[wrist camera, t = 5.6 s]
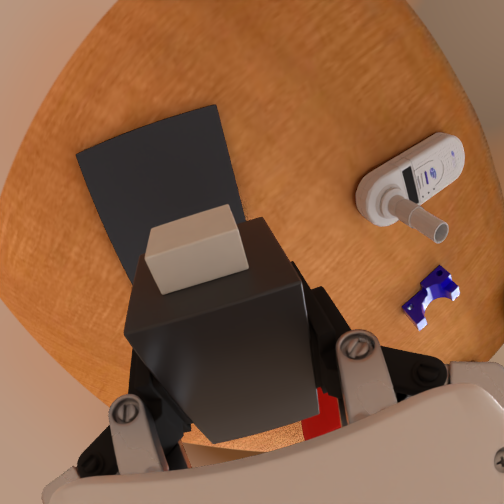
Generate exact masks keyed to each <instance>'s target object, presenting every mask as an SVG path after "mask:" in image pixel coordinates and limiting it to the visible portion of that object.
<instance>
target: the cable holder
mask: <svg viewBox="0 0 504 504" xmlns="http://www.w3.org/2000/svg"><path fill="white" fill-rule="evenodd" d="M420 284H421V287H422V289H421V290H420V291H419V292H418V293H417V294H416V295H415V296H413V297H412V298H411V299H410V300H409V301H408V302H406V303H405V304H404V305H403V306H402V309H403V311H404V313H405V314H406V316H407V317H408V318H409V319H410V320H411V322H412V323H413V324H414V325H415V326H416V328H417V329H418V330H419V331H420V330H421V329H422V328H424V327H425V326H426V325H427V321H426V319H425V317H424V313H425V309H426V307H427V306H428V304H429V303H430V302H431V301H433V300H434V299H436V298H440V297H446V298H449V299H451V300H452V301H453V300H454V299H455V298H456V297H457V296H458V295H459V294H460V292H459V286H458V285H456V284H455V283H454V282H453V281H452V278H451V274H450V273H449V272H447V271H446V270H445V269H444V268H443V267H442V266H440V265H439V266H438V267H437V268H436V269H435V270H434V271H433V272H432V273H431V274H429V275H428V276H427V277H426V278H425V279H424V280H423V281H422V282H421V283H420Z"/></svg>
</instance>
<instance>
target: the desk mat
mask: <svg viewBox="0 0 504 504" xmlns="http://www.w3.org/2000/svg"><path fill="white" fill-rule="evenodd" d="M76 157H77V160H78V163H79V166H80V168H81V171H82V174H83V176H84V179H85V182H86V184H87V187H88V189H89V192H90V194H91V197H92V199H93V202H94V204H95V207H96V209H97V211H98V214H99V216H100V218H101V221H102V223H103V225H104V227H105V230H106V232H107V234H108V236H109V238H110V241H111V243H112V245H113V247H114V249H115V251H116V253H117V255H118V257H119V259H120V261H121V263H122V265H123V267H124V269H125V271H126V273H127V275H128V277H129V279H130V281H131V283H132V285H133V282H134V278H135V273H136V269H137V265H138V261H139V257H140V255H141V254H144V253H146V249H147V244H148V240H149V236H150V232H151V229H152V228H154V227H157V226H160V225H163V224H166V223H169V222H172V221H175V220H178V219H181V218H184V217H188V216H191V215H194V214H197V213H200V212H203V211H207V210H210V209H213V208H216V207H220V206H223V205H226V204H228V205H229V207H230V210H231V212H232V215H233V217H234V220H235V222H236V224H239V223H242V222H246V220H245V216H244V212H243V208H242V204H241V200H240V196H239V192H238V188H237V184H236V180H235V177H234V173H233V169H232V165H231V161H230V157H229V153H228V149H227V145H226V141H225V137H224V134H223V130H222V126H221V122H220V118H219V114H218V110H217V106H216V105H215V104H214V105H211V106H207V107H203V108H200V109H196V110H193V111H189V112H186V113H182V114H179V115H176V116H173V117H170V118H167V119H163V120H160V121H157V122H155V123H152V124H149V125H146V126H143V127H140V128H138V129H135V130H132V131H130V132H127V133H124V134H122V135H119V136H117V137H114V138H112V139H109V140H107V141H105V142H102V143H100V144H97V145H95V146H93V147H91V148H88V149H86V150H84V151H82V152H80V153H78V154H76Z"/></svg>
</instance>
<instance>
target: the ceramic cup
mask: <svg viewBox="0 0 504 504" xmlns="http://www.w3.org/2000/svg"><path fill="white" fill-rule="evenodd" d="M317 393H318V402H319V412H320V413H319V414H318V415H315V416H312V417H310V418H307V419H304V420H301V423H302V430H303V435H304V439H305V441H306V440H309V439H312V438H315V437H318V436H321V435H323V434H326V433H329V432H331V431H334V430H337V429H339V428H341V423H340V416H339V409H338V403H337V398H336V397H332V396H329V395H328V393H325V394H323V392H322V389H321V387H319V388H317Z"/></svg>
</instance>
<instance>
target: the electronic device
mask: <svg viewBox="0 0 504 504" xmlns="http://www.w3.org/2000/svg"><path fill="white" fill-rule="evenodd" d="M464 160H465V154H464V148H463V145H462V143H461V141H460V140H459V139H458V138H457V137H455V136H453V135H450V134H446V133H441V132H439V133H435V134H434V135H432V136H430V137H428V138H427V139H425V140H423V141H422V142H420V143H418V144H417V145H415V146H413V147H411V148H410V149H408V150H406V151H405V152H403V153H401V154H400V155H398V156H396V157H395V158H393V159H391V160H389V161H388V162H386V163H384V164H383V165H381V166H379V167H378V168H376V169H374V170H373V171H371V172H369V173H368V174H367V175H366V176H364V177H363V178H362V180H361V182H360V183H359V185H358V188H357V191H356V205H357V208H358V211H359V212H360V213H361V215H362V216H363V217H364V218H366V219H367V220H368V221H370V222H371V223H373V224H375V225H377V226H389V225H391V224H393V223H395V222H396V221H398V220H400V221H402V222H403V223H405V224H406V225H408V226H410V227H411V228H415V229H417V230H418V231H420V232H421V233H423V234H424V235H425V236H427V237H428V238H430V239H431V240H433V241H434V242H436V243H441V242H442V241H444V239H445V238H446V236H447V234H448V225H447V223H446V222H444V221H442V220H441V219H439V218H437V217H436V216H434V215H432V214H431V213H429V212H427V211H425V210H424V209H423V208H422V207H421V206H420V205H421V204H422V203H424V202H425V201H427V200H428V199H429V198H431V197H432V196H434V195H435V194H436V193H438V192H439V191H441V190H442V189H443V188H445V187H446V186H447V185H449V184H450V183H452V182H453V181H454V180H456V179H457V178H458V177H459V175H460V173H461V172H462V169H463V166H464Z"/></svg>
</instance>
